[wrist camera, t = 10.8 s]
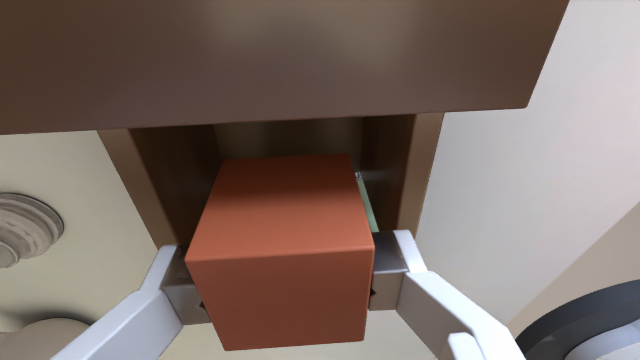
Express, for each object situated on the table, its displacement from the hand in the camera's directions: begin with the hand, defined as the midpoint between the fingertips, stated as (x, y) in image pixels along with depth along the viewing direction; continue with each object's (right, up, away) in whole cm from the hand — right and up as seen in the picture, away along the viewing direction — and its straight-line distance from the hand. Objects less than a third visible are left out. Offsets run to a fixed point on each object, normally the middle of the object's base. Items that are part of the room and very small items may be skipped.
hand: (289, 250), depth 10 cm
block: (0, +1, +2) cm, 2 cm away
